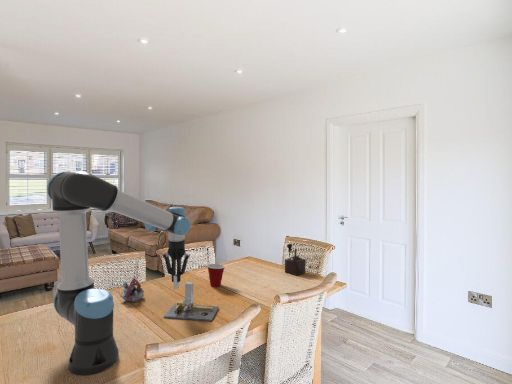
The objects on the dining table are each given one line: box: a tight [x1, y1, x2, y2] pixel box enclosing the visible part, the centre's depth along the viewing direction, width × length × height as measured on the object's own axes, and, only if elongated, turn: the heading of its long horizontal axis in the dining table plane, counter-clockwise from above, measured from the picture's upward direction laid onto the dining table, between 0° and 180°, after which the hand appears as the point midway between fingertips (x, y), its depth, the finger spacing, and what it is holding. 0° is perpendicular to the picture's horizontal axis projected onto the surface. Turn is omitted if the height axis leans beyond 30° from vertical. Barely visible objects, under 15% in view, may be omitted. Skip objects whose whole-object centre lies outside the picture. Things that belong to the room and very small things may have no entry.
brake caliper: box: [119, 277, 145, 303], centre depth 161 cm, size 11×11×12 cm
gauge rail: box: [175, 299, 213, 312], centre depth 147 cm, size 8×18×3 cm, turn 84°
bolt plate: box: [163, 303, 220, 322], centre depth 146 cm, size 14×22×1 cm, turn 84°
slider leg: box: [184, 281, 195, 312], centre depth 147 cm, size 9×3×12 cm, turn 174°
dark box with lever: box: [284, 243, 307, 277], centre depth 213 cm, size 16×11×18 cm
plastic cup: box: [206, 263, 226, 288], centre depth 184 cm, size 11×11×12 cm
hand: (176, 288), depth 149 cm, fingers closed
